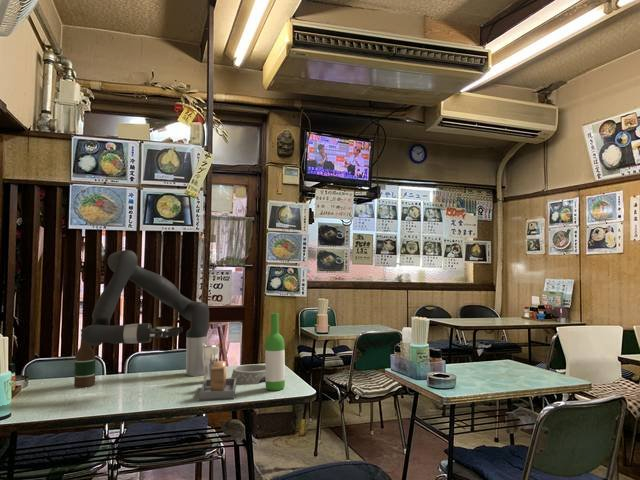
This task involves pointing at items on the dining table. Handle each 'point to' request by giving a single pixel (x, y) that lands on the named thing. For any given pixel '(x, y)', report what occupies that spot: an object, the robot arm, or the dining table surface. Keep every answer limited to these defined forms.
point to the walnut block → (217, 379)
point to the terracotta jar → (221, 364)
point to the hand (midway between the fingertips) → (180, 331)
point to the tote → (207, 394)
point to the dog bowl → (249, 374)
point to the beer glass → (209, 359)
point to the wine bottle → (274, 357)
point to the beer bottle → (84, 366)
